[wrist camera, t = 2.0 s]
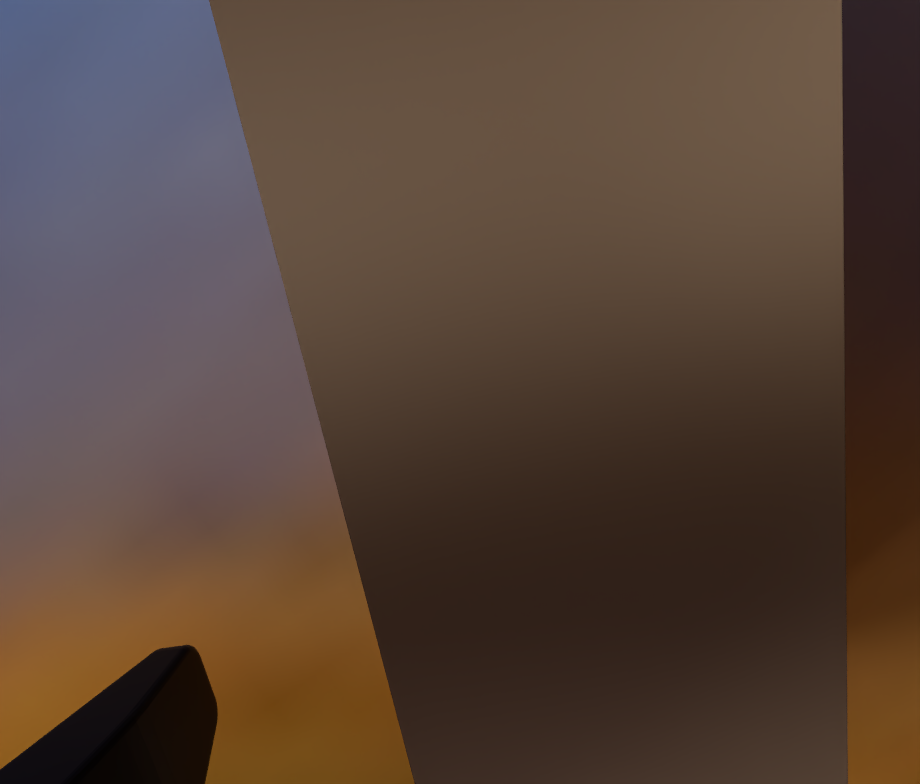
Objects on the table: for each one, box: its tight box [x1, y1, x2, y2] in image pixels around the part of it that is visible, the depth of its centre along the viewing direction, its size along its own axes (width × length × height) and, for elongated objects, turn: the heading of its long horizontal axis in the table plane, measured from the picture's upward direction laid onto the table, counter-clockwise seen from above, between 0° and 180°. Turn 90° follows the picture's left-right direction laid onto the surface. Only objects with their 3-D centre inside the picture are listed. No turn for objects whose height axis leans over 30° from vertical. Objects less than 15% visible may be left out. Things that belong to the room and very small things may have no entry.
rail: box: [209, 0, 848, 784], centre depth 9 cm, size 12×4×5 cm, turn 10°
